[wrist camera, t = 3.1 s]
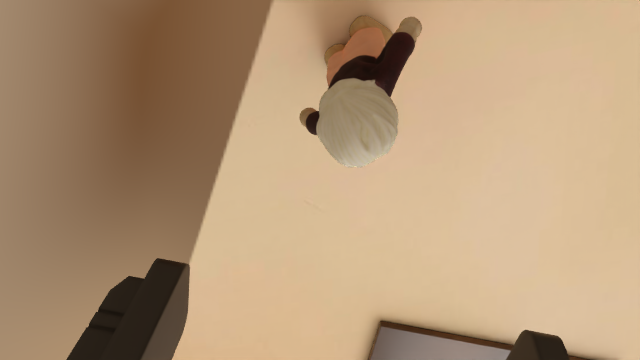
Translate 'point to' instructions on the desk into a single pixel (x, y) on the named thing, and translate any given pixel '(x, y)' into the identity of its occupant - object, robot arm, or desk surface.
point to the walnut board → (433, 345)
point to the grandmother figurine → (362, 92)
